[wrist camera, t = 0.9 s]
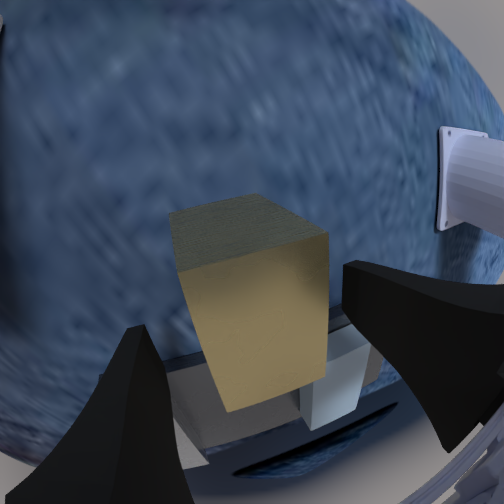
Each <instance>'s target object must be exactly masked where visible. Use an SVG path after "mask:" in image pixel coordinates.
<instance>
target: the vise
mask: <svg viewBox="0 0 504 504" xmlns="http://www.w3.org/2000/svg"><path fill="white" fill-rule="evenodd" d="M341 307H342V304H340V305H337V306H335V307H332V308H330V309H329V315H328V334H330V333H333V332H335V331H337V330H339V329H342V328H344V327H346V326H348V325H351V324H352V323H351V322H350V320H349V319H348V318H347V316H346V315H345V313H344V312H343V310H342V309H341ZM382 361H383V356H382V355H381V354H380V353H379V352H378V351H377V350H376V349H375V348H374V347H373V346H372V345H371V347H370V352H369V357H368V362H367V366H366V370H365V375H364V379H363V383H362V387H364V386H366V385H368V384H370V383H371V382H373V381H375V380H377V378H378V375H379V372H380V368H381V365H382ZM163 364H164V366H165V370H166V375H167V379H168V384H169V389H170V394H171V403H172V412H173V420H174V428H175V436H176V443H177V449H178V454H179V458H180V462H181V465H182V469H187V468H192V467H197V466H201V465H206V464H209V462H208V459H207V455H206V451H205V448H209V447H213V446H217V445H220V444H224V443H228V442H231V441H235V440H238V439H242V438H245V437H248V436H251V435H254V434H257V433H260V432H263V431H266V430H269V429H272V428H274V427H277V426H280V425H283V424H285V423H288V422H290V421H293V420H295V419H298V418H300V417H302V415H301V414H300V388H297V389H295V390H292V391H290V392H287V393H285V394H282V395H279V396H277V397H274V398H271V399H268V400H266V401H263V402H260V403H257V404H254V405H251V406H248V407H245V408H241V409H238V410H235V411H232V412H228V413H227V411H226V409H225V406H224V404H223V401H222V399H221V397H220V394H219V392H218V389H217V387H216V384H215V382H214V379H213V376H212V374H211V371H210V369H209V366H208V363H207V361H206V358H205V355H204V352H203V351H201V352H198V353H194V354H190V355H186V356H183V357H179V358H175V359H171V360H167V361H163ZM102 376H103V374H101V375H99V381H100V380H101V378H102ZM99 381H98V383H99ZM362 387H361V388H362Z"/></svg>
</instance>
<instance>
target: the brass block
mask: <svg viewBox="0 0 504 504" xmlns="http://www.w3.org/2000/svg"><path fill="white" fill-rule="evenodd" d="M169 218H170V226H171V234H172V241H173V248H174V254H175V261H176V267H177V273H178V277H179V280H180V283H181V287H182V290H183V293H184V296H185V299H186V303H187V306H188V309H189V312H190V315H191V318H192V321H193V324H194V327H195V330H196V333H197V336H198V338H199V341H200V344H201V347H202V350H203V352H204V355H205V358H206V361H207V363H208V366H209V369H210V371H211V374H212V376H213V379H214V382H215V384H216V387H217V389H218V392H219V394H220V397H221V399H222V401H223V404H224V406H225V409H226V411H227V413H228V412H232V411H235V410H238V409H241V408H245V407H248V406H251V405H254V404H257V403H260V402H263V401H266V400H268V399H271V398H274V397H277V396H279V395H282V394H285V393H287V392H290V391H292V390H295V389H297V388H300V387H302V386H305V385H307V384H309V383H312V382H314V381H316V380H319V379H321V378H323V377H325V372H326V358H327V340H328V315H329V236H328V232H327V231H325V230H323V229H321V228H320V227H318V226H316V225H314V224H312V223H311V222H309V221H307V220H305V219H303V218H302V217H300V216H298V215H296V214H294V213H293V212H291V211H289V210H287V209H285V208H283V207H281V206H280V205H278V204H276V203H274V202H272V201H270V200H268V199H266V198H264V197H262V196H261V195H259V194H257V193H254V194H249V195H244V196H239V197H235V198H230V199H226V200H221V201H217V202H213V203H208V204H204V205H200V206H196V207H192V208H187V209H183V210H179V211H176V212H172V213H169Z"/></svg>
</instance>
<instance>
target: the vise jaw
mask: <svg viewBox="0 0 504 504" xmlns="http://www.w3.org/2000/svg"><path fill="white" fill-rule="evenodd" d="M370 347H371V344H370V343H369V342H368V341H367V339H366V338H365V337H364V336H363V335H362V334H361V333H360V332H359V331H358V330H357V329H356V328H355V327H354V326H353V324H351V325H348V326H346V327H344V328H342V329H339V330H337V331H335V332H333V333H330V334H328V340H327V358H326V372H325V377H323V378H321V379H319V380H316V381H314V382H312V383H309V384H307V385H305V386H302V387H300V414H301V415H302V417H303V419H304V420H305V422H306V424H307V425H308V427H309V429H310V430H311V431H312V430H314V429H317V428H319V427H321V426H323V425H325V424H327V423H329V422H332V421H334V420H336V419H337V418H340V417H342V416H344V415H345V414H347V413H349V412H351V411H353V410H355V408H356V405H357V402H358V398H359V394H360V391H361V387H362V383H363V379H364V375H365V370H366V366H367V362H368V357H369V352H370Z"/></svg>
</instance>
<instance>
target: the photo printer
mask: <svg viewBox="0 0 504 504" xmlns="http://www.w3.org/2000/svg"><path fill="white" fill-rule="evenodd" d="M2 24H3V18H2V16H1V15H0V32H1V28H2Z"/></svg>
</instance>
